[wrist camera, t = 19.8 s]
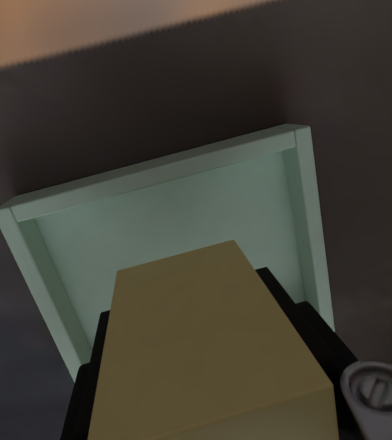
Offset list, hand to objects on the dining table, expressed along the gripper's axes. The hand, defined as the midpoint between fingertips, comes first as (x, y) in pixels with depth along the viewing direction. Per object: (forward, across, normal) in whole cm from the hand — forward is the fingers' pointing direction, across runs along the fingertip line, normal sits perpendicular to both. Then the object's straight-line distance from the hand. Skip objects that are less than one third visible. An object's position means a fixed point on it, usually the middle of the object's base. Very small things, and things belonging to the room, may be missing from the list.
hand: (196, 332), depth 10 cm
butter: (0, 0, 0) cm, 0 cm away
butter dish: (+5, 0, 0) cm, 5 cm away
